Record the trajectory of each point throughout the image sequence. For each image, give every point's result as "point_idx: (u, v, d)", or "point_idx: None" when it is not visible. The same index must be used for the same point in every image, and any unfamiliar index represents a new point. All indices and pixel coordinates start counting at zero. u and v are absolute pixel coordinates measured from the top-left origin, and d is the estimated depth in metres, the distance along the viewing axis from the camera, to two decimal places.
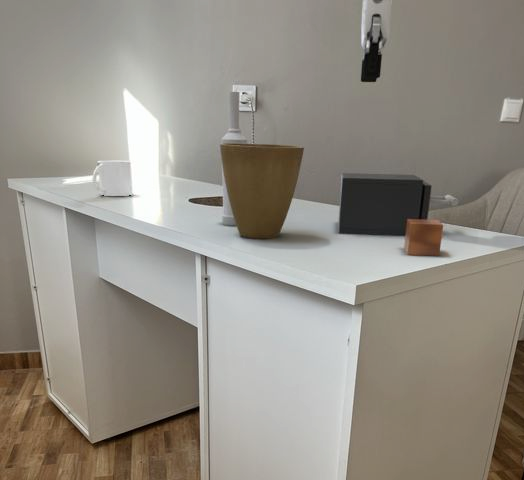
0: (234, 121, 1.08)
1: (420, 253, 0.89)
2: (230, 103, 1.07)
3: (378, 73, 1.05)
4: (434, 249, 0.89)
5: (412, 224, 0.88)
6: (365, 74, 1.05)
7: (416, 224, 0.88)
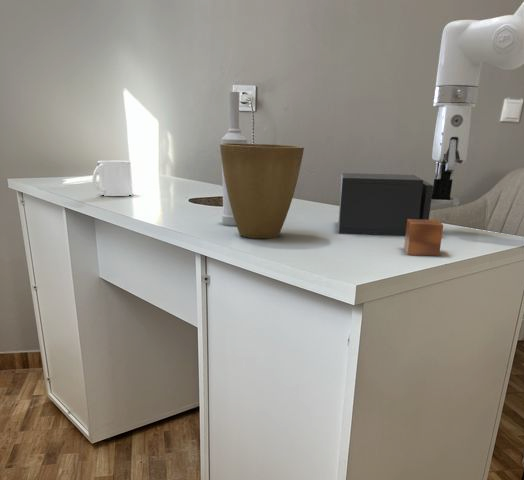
0: (234, 121, 1.08)
1: (420, 253, 0.89)
2: (230, 103, 1.07)
3: (448, 197, 1.08)
4: (434, 249, 0.89)
5: (412, 224, 0.88)
6: (435, 197, 1.08)
7: (416, 224, 0.88)
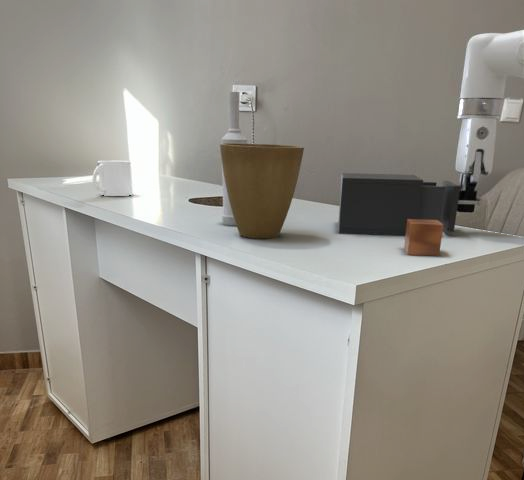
0: (234, 121, 1.08)
1: (420, 253, 0.89)
2: (230, 103, 1.07)
3: (472, 208, 1.08)
4: (434, 249, 0.89)
5: (412, 224, 0.88)
6: (459, 209, 1.09)
7: (416, 224, 0.88)
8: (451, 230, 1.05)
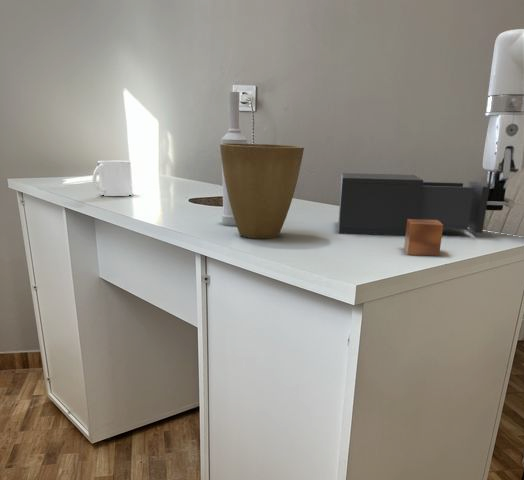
0: (234, 121, 1.08)
1: (420, 253, 0.89)
2: (230, 103, 1.07)
3: (501, 206, 1.07)
4: (434, 249, 0.89)
5: (412, 224, 0.88)
6: (488, 207, 1.08)
7: (416, 224, 0.88)
8: (479, 231, 1.05)
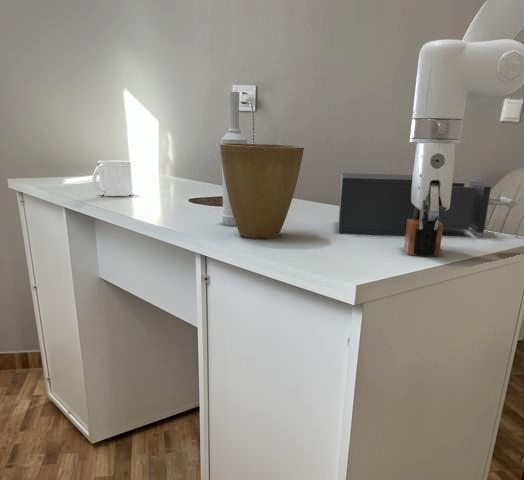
0: (234, 121, 1.08)
1: None
2: (230, 103, 1.07)
3: (432, 250, 0.88)
4: None
5: (412, 224, 0.88)
6: (417, 251, 0.89)
7: (416, 224, 0.88)
8: (481, 231, 1.05)
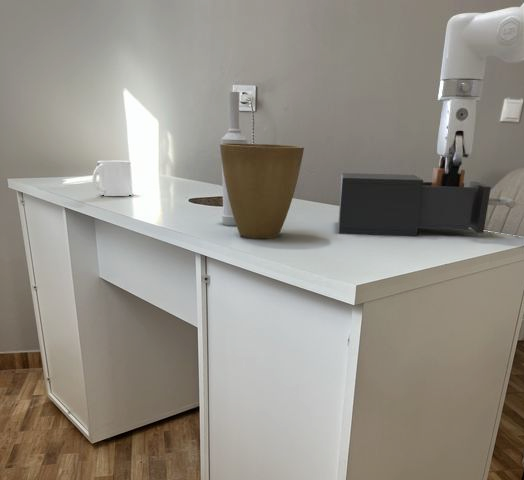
0: (234, 121, 1.08)
1: None
2: (230, 103, 1.07)
3: None
4: None
5: (439, 170, 1.05)
6: None
7: (442, 170, 1.05)
8: (481, 231, 1.05)
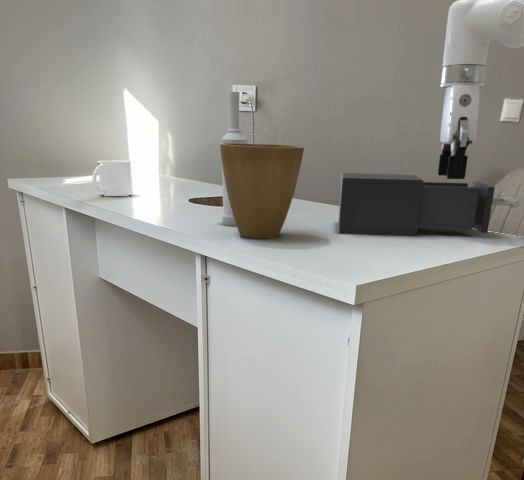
0: (234, 121, 1.08)
1: None
2: (230, 103, 1.07)
3: (463, 174, 1.02)
4: None
5: None
6: (449, 175, 1.03)
7: None
8: (484, 231, 1.05)
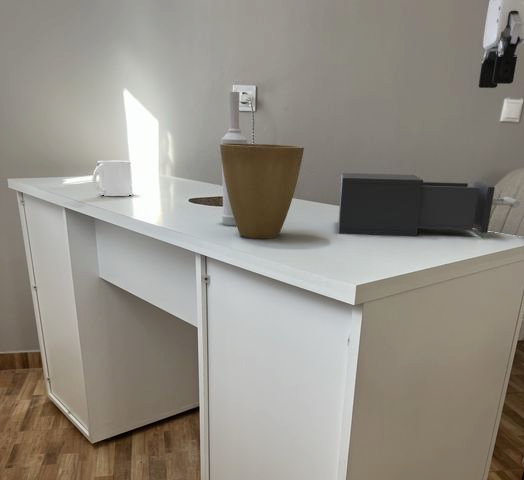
0: (234, 121, 1.08)
1: None
2: (230, 103, 1.07)
3: (511, 78, 0.92)
4: None
5: None
6: (496, 79, 0.93)
7: None
8: (484, 231, 1.05)
